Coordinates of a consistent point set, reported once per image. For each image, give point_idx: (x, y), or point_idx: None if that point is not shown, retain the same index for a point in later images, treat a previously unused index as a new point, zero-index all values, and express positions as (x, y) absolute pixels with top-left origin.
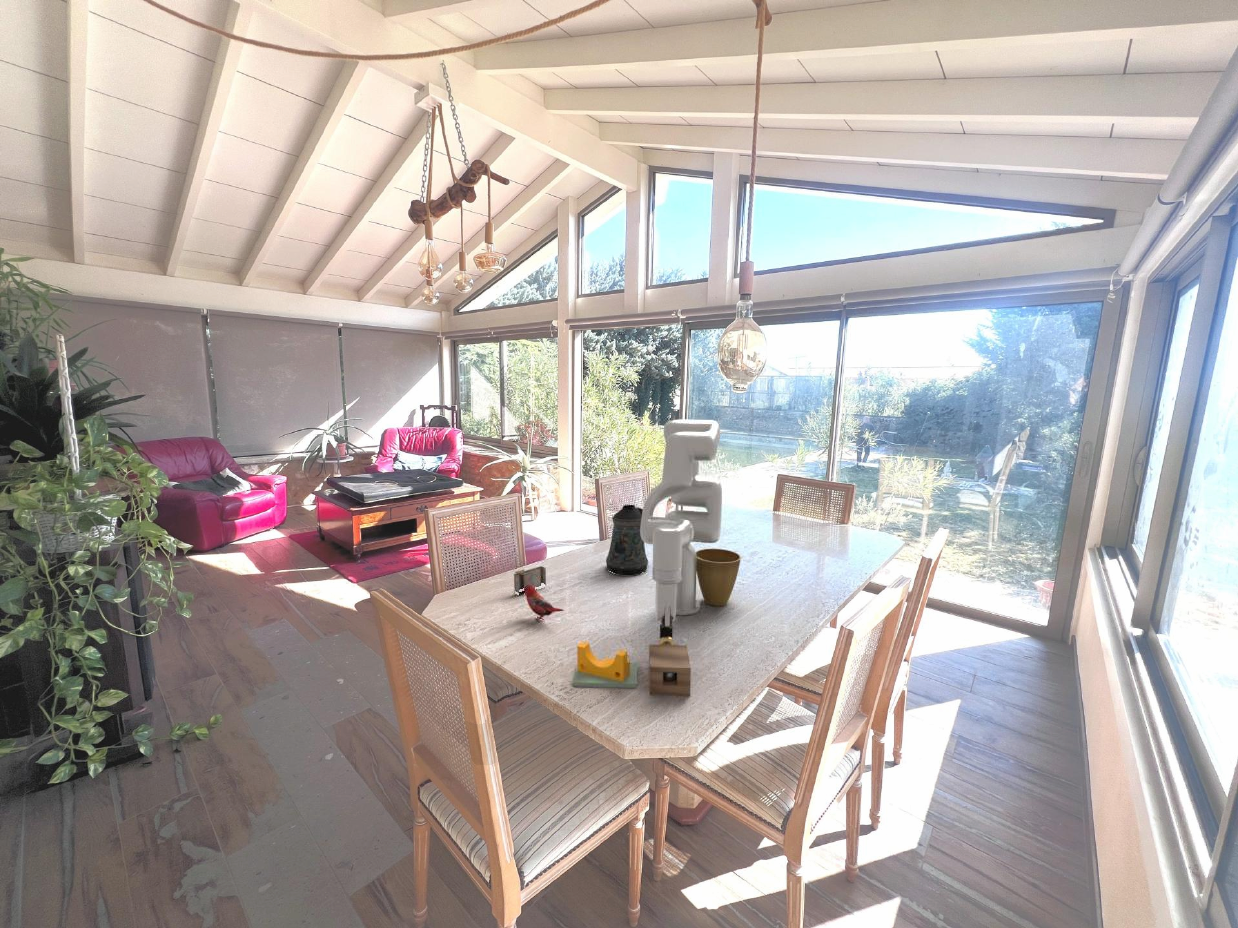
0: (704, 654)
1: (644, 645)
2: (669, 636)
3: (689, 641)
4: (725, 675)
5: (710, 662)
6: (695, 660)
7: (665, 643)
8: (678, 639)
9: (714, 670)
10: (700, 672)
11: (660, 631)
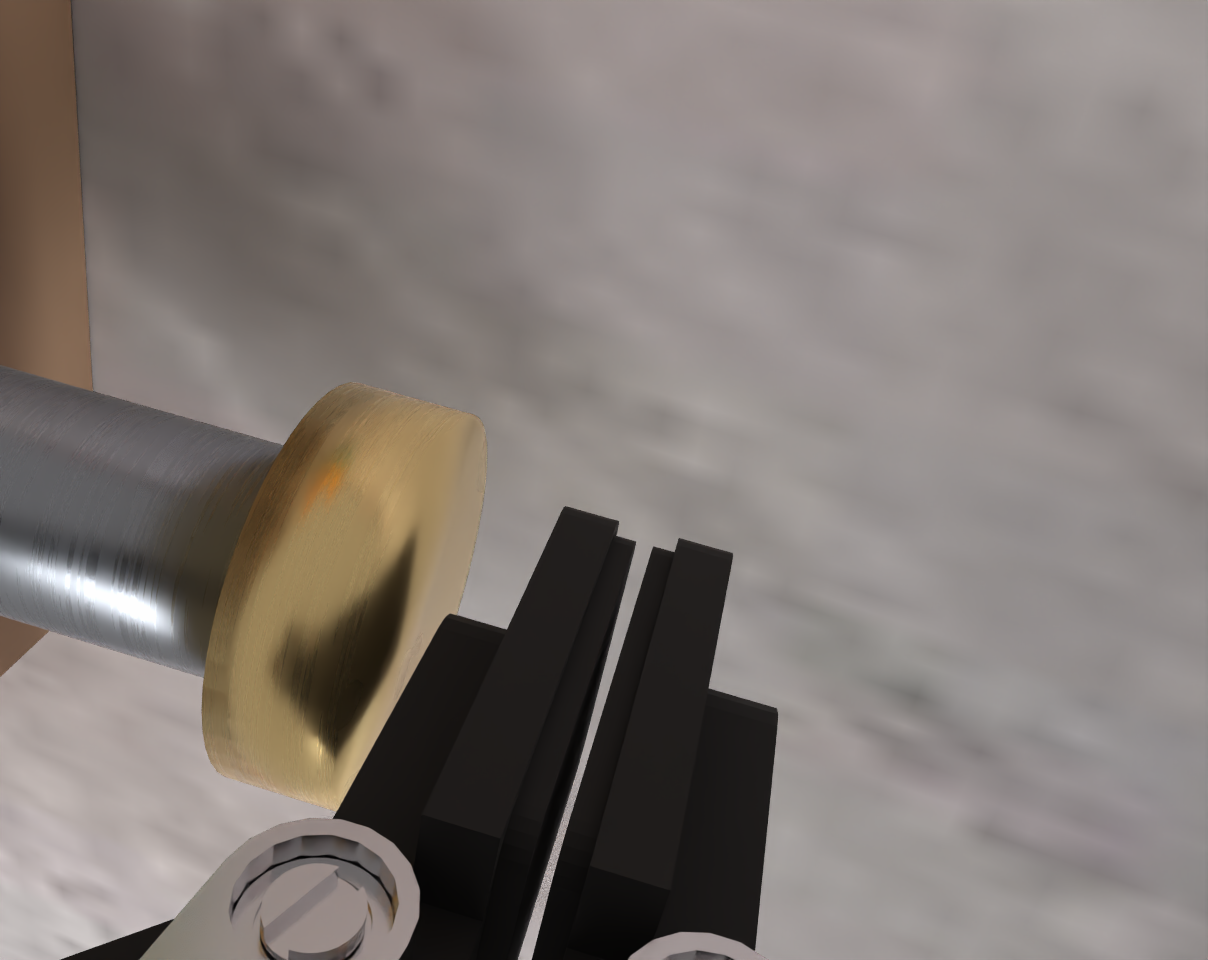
0: None
1: (1198, 93)
2: (325, 793)
3: (1002, 953)
4: (64, 927)
5: None
6: None
7: (140, 573)
8: (1150, 845)
9: (157, 882)
10: (97, 729)
11: (478, 692)
